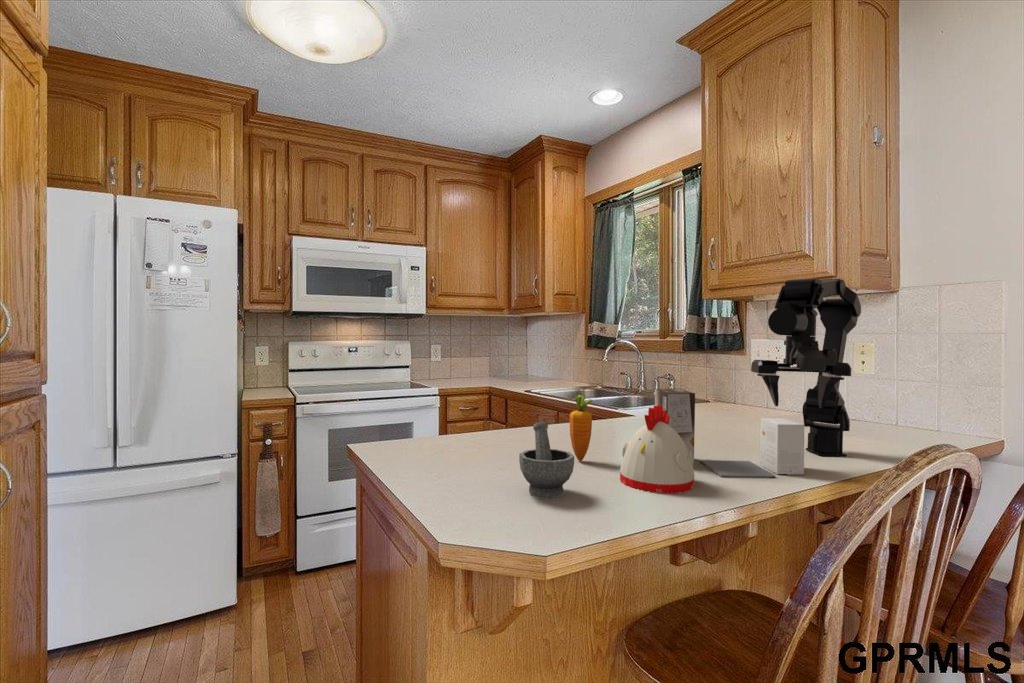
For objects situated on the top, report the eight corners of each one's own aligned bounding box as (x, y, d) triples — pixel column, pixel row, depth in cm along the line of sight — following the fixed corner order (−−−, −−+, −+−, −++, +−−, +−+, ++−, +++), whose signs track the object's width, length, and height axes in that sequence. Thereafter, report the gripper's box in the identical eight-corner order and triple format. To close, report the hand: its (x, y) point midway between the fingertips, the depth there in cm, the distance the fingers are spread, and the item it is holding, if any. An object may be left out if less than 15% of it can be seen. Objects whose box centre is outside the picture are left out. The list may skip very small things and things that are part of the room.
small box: (804, 475, 107) (805, 424, 107) (776, 475, 107) (778, 424, 107) (784, 465, 115) (785, 417, 115) (759, 465, 115) (760, 417, 115)
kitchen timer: (606, 481, 101) (607, 404, 101) (643, 469, 111) (644, 398, 111) (672, 498, 91) (674, 413, 91) (706, 483, 101) (708, 406, 101)
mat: (749, 462, 117) (749, 460, 117) (775, 477, 105) (775, 475, 105) (699, 462, 117) (699, 460, 117) (720, 477, 105) (720, 475, 105)
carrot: (579, 457, 120) (580, 392, 120) (596, 462, 116) (597, 394, 116) (564, 460, 117) (565, 394, 116) (580, 465, 113) (581, 396, 113)
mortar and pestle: (579, 500, 90) (580, 431, 89) (526, 503, 88) (527, 432, 88) (561, 481, 101) (562, 419, 101) (514, 483, 99) (514, 420, 99)
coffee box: (695, 467, 113) (696, 393, 112) (666, 467, 112) (667, 392, 112) (679, 456, 122) (680, 388, 122) (652, 456, 122) (653, 388, 121)
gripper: (768, 335, 108) (766, 410, 108) (866, 337, 105) (863, 414, 105) (751, 335, 119) (749, 403, 119) (839, 337, 116) (837, 407, 116)
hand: (798, 407), depth 115 cm, fingers open, 9 cm apart
